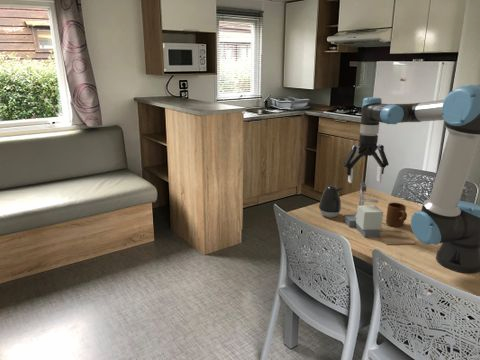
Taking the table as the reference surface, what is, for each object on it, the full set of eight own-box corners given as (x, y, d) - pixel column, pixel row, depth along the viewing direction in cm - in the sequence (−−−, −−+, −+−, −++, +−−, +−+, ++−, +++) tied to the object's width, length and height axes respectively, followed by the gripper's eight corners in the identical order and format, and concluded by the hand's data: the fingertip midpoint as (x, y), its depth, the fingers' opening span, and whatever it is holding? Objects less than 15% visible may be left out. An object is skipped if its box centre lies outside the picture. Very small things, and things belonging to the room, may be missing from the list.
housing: (385, 236, 162) (386, 229, 161) (358, 237, 161) (359, 229, 160) (368, 220, 180) (369, 212, 179) (343, 220, 179) (344, 213, 178)
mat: (415, 244, 156) (415, 243, 156) (386, 244, 155) (387, 244, 155) (401, 231, 167) (401, 231, 167) (374, 232, 166) (374, 231, 166)
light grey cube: (381, 229, 162) (383, 211, 160) (362, 229, 161) (364, 212, 159) (373, 222, 170) (375, 205, 167) (355, 222, 169) (357, 205, 167)
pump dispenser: (342, 219, 180) (345, 189, 175) (320, 219, 180) (322, 188, 176) (337, 211, 190) (340, 182, 185) (316, 211, 190) (319, 182, 185)
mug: (411, 231, 168) (414, 211, 165) (395, 232, 167) (398, 212, 164) (398, 221, 179) (400, 202, 176) (382, 221, 178) (385, 202, 176)
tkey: (374, 214, 177) (378, 182, 172) (376, 220, 169) (380, 188, 165) (357, 212, 178) (360, 181, 174) (358, 219, 171) (362, 186, 166)
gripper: (391, 132, 169) (385, 178, 175) (337, 133, 165) (334, 180, 171) (400, 134, 162) (394, 182, 168) (345, 136, 158) (341, 185, 164)
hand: (364, 181), depth 169 cm, fingers open, 13 cm apart
